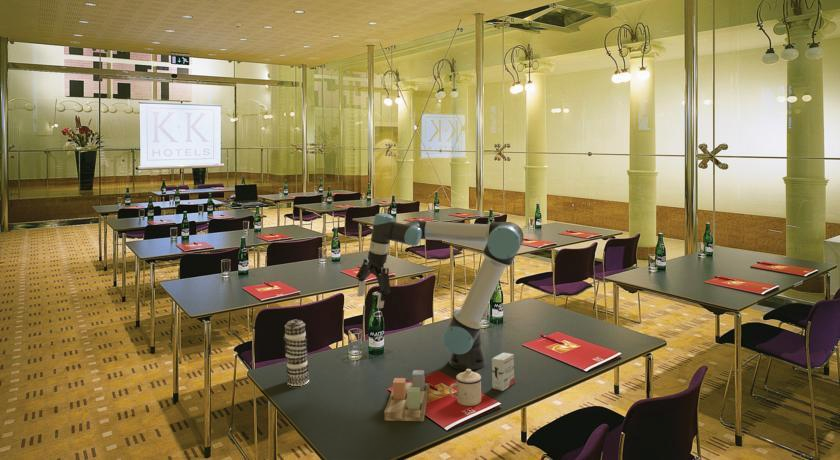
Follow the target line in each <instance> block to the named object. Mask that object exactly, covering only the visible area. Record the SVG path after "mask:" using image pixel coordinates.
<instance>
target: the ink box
mask: <svg viewBox="0 0 840 460" xmlns="http://www.w3.org/2000/svg"><path fill="white" fill-rule="evenodd" d="M514 359H515V355H514V353H510V352H502V353H500V354H497V355H496V356H494V357H491V379H492V380H491V382H492V385H491V386H492V389H494V390H498V391H501V392H503V391H505V390H507V389H508V388H510V387H512V386H513V385H514V384H515V360H514Z"/></svg>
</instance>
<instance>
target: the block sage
mask: <svg viewBox="0 0 840 460" xmlns="http://www.w3.org/2000/svg"><path fill="white" fill-rule="evenodd" d="M420 405H421V400H420V387H408V390H407V406H408V410H419V409H420Z"/></svg>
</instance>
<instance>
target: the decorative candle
mask: <svg viewBox="0 0 840 460" xmlns="http://www.w3.org/2000/svg"><path fill="white" fill-rule="evenodd" d="M284 331H285V332H284V335H283V343H284V353H285V357H286V367H285V369H286V373H287V374H286V378H287V379H286V382H287V385H288V384H289V385H291V386H301V387H303V386H302V385H305V384H307V383H308V382H309V383H310V376H309V374H310V373H309V370H310V369H309V364H308V359H307V355H308V349H309V348H308V347H307V346H308V345H309V344H308V338H306V337H307V336H309V334H308V333H306V322H304V321H303V320H301V319H297V318H296V319H291V320H288V321H287V322H286V324H285V325H284ZM309 383H308V384H309ZM308 384H307V385H308ZM291 386H290V387H291ZM305 386H306V385H305Z"/></svg>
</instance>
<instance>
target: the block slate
mask: <svg viewBox="0 0 840 460" xmlns="http://www.w3.org/2000/svg"><path fill="white" fill-rule="evenodd" d="M411 376H412V383H413V387H420V391H424V388H425V383H426V380H425V379H426V377H425V370H423V369H414V370H413V371H412V374H411Z"/></svg>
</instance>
